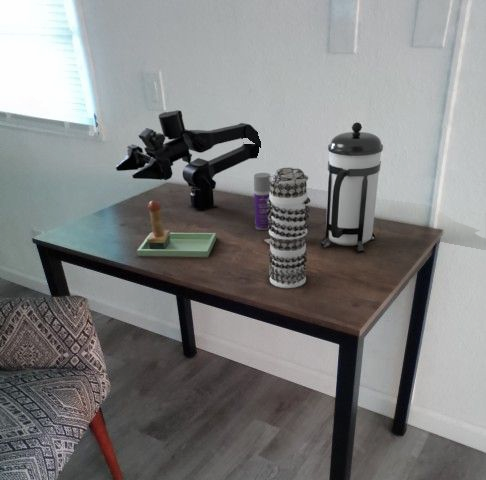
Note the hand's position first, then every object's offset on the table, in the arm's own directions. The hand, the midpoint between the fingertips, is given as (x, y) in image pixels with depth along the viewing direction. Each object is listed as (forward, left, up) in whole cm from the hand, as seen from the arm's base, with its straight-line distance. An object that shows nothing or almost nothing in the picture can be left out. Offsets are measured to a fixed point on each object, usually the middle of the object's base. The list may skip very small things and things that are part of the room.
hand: (124, 172), depth 137 cm
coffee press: (-42, +47, -16) cm, 65 cm away
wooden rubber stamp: (-1, +19, -16) cm, 25 cm away
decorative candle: (-18, +54, -16) cm, 59 cm away
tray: (-5, +22, -16) cm, 28 cm away
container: (-31, +23, -16) cm, 42 cm away
